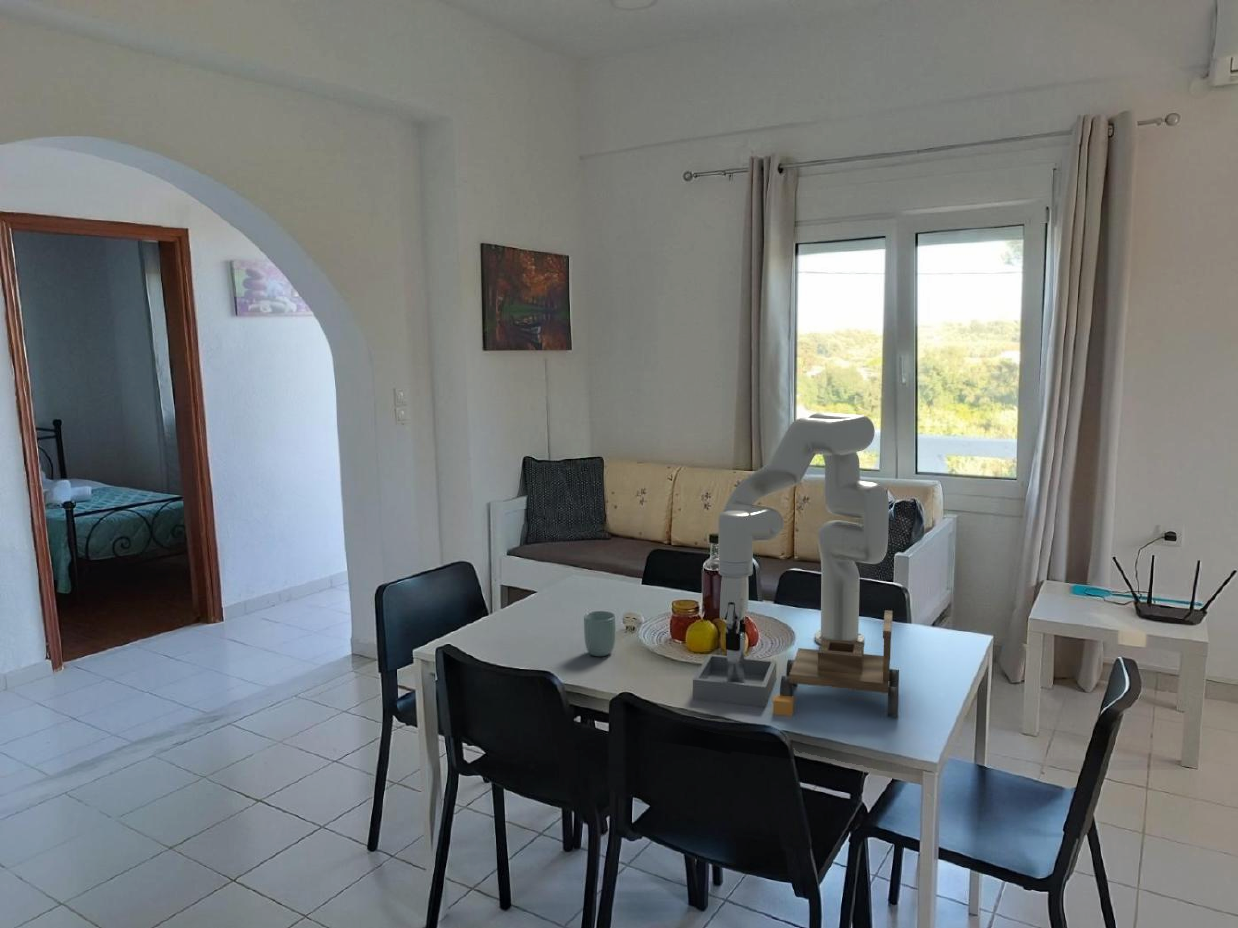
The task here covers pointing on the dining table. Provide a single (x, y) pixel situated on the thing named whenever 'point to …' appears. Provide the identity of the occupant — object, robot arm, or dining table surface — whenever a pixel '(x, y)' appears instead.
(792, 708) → the orange block
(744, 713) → the dining table surface
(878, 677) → the trolley
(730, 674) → the pin
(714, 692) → the tray
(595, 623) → the cup
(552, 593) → the dining table surface
